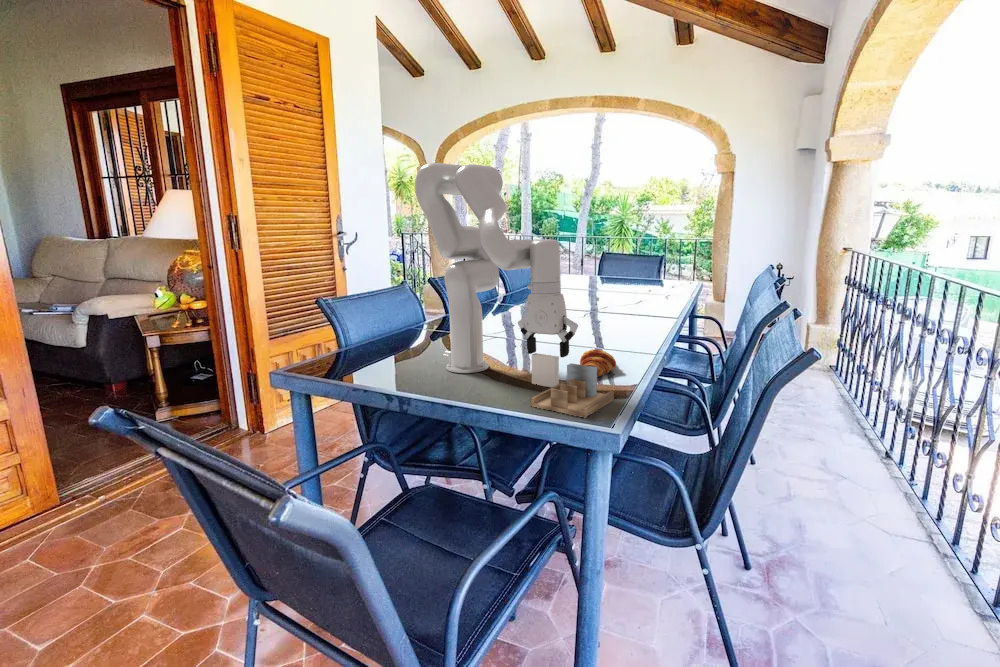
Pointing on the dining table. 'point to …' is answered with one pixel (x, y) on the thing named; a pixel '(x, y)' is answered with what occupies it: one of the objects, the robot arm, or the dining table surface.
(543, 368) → the low beige gift box
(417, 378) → the dining table surface
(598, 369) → the croissant
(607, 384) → the dining table surface
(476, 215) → the robot arm
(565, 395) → the dish rack
